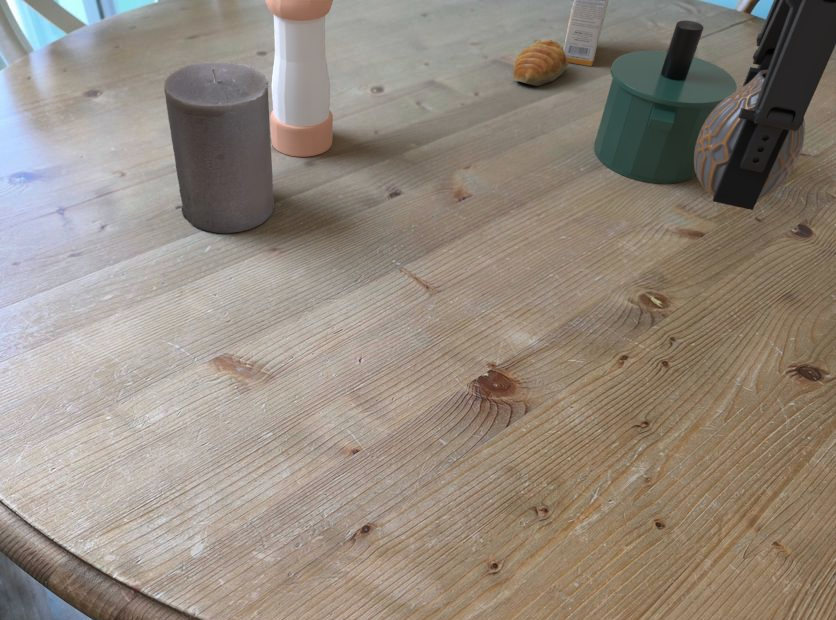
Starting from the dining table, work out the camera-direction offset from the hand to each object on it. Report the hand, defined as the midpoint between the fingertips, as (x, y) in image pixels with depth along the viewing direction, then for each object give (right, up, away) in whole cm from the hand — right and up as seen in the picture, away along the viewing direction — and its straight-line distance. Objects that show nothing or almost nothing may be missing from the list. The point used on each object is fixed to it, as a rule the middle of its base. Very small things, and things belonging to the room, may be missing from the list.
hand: (734, 176), depth 56 cm
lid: (+7, +17, +28) cm, 34 cm away
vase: (0, -1, +1) cm, 1 cm away
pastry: (-3, +26, +51) cm, 57 cm away
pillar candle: (-42, +2, +23) cm, 48 cm away
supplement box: (+4, +31, +56) cm, 65 cm away
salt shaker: (-35, +12, +34) cm, 50 cm away
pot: (+6, +11, +35) cm, 37 cm away
